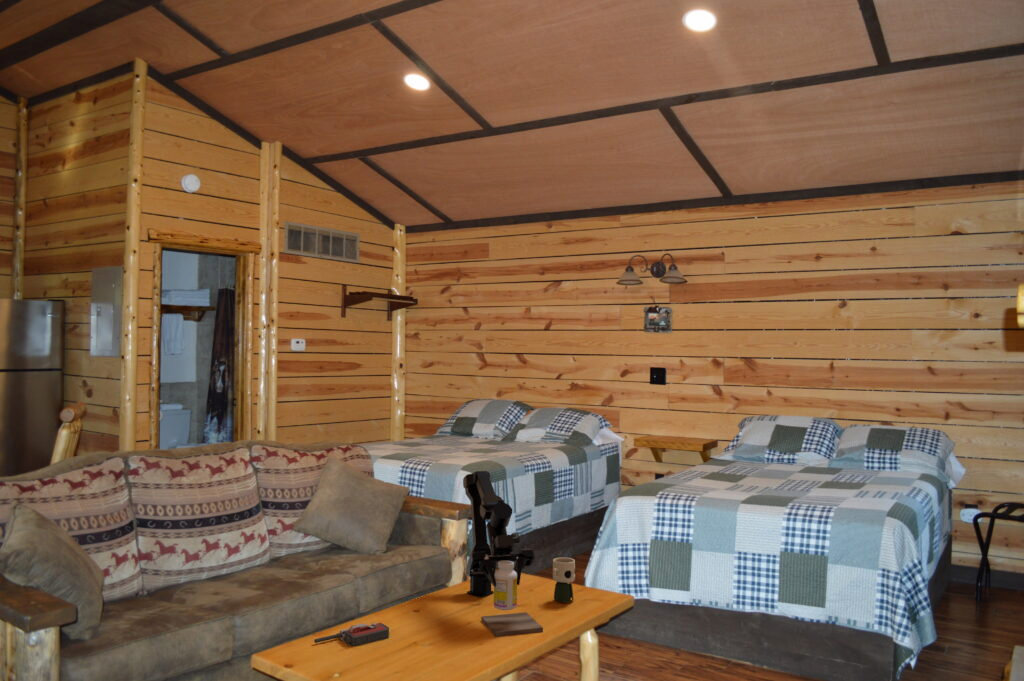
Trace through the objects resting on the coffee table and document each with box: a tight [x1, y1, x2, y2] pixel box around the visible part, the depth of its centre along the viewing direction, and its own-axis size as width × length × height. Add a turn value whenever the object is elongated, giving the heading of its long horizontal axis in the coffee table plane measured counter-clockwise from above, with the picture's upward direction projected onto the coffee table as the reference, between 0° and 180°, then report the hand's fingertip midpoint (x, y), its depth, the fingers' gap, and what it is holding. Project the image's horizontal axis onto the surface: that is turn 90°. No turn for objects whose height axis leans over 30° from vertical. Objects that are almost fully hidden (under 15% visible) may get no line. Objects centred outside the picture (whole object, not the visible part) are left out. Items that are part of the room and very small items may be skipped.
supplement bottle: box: [493, 561, 518, 611], centre depth 229 cm, size 7×7×13 cm
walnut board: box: [480, 611, 544, 638], centre depth 229 cm, size 14×14×1 cm
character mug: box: [552, 556, 576, 603], centre depth 254 cm, size 11×7×13 cm, turn 140°
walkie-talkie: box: [313, 622, 390, 647], centre depth 217 cm, size 9×4×20 cm
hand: (506, 585), depth 228 cm, fingers closed on supplement bottle, 7 cm apart
